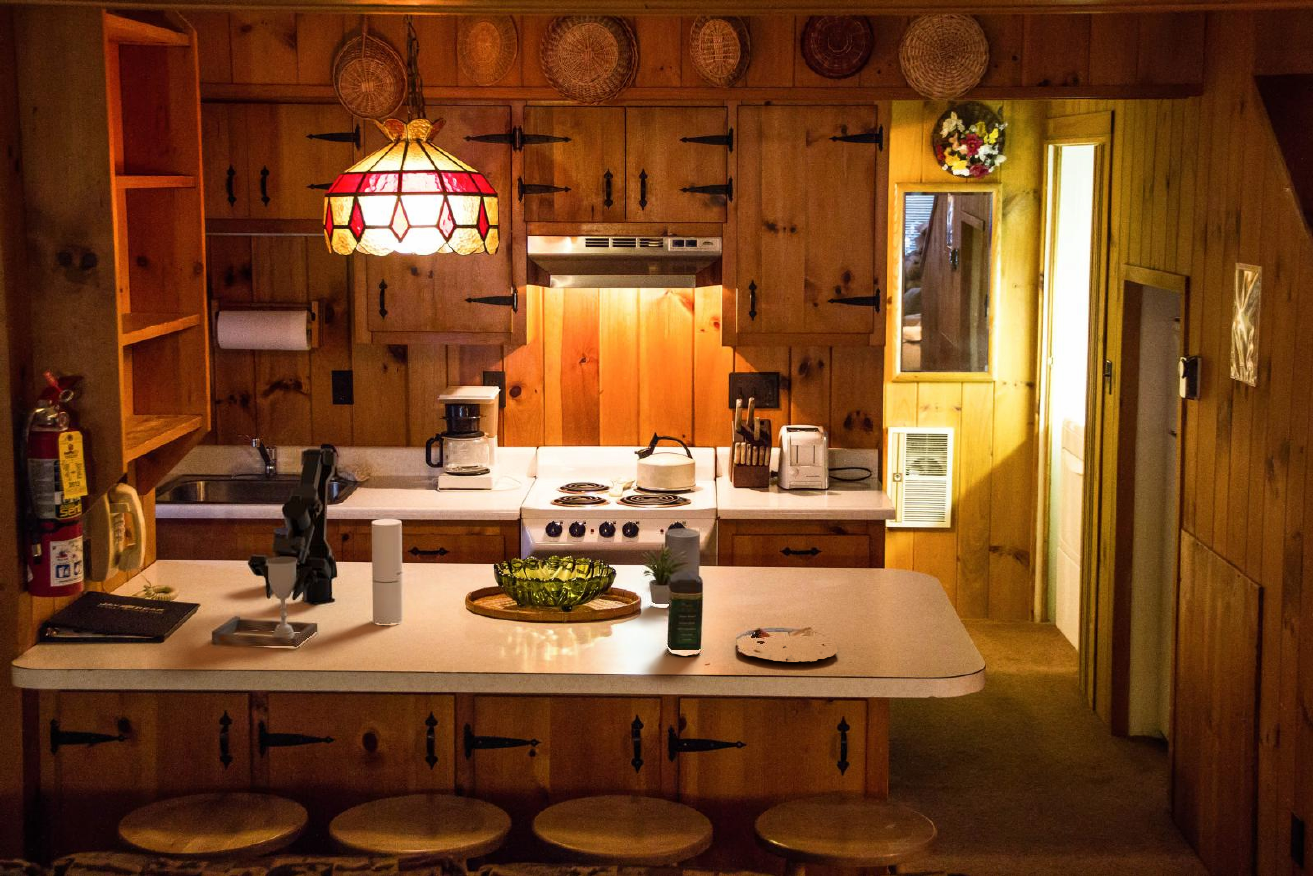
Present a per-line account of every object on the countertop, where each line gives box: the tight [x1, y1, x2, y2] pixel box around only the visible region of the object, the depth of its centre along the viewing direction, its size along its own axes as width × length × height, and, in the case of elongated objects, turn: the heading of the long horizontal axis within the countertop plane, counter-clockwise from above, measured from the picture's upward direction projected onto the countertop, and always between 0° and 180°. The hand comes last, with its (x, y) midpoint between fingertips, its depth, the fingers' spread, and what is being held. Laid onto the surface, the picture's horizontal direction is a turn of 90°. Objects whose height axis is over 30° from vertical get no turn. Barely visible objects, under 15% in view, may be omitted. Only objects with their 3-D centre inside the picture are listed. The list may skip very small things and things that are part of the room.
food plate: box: [735, 626, 826, 653], centre depth 340 cm, size 25×23×4 cm
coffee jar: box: [666, 571, 704, 650], centre depth 337 cm, size 10×8×19 cm
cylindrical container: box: [371, 518, 404, 624], centre depth 355 cm, size 7×7×25 cm
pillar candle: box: [664, 527, 701, 577], centre depth 400 cm, size 10×10×15 cm
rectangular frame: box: [211, 615, 318, 647], centre depth 341 cm, size 20×13×3 cm, turn 82°
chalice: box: [266, 556, 298, 637], centre depth 339 cm, size 7×7×18 cm
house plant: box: [640, 543, 691, 604], centre depth 374 cm, size 14×14×16 cm
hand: (280, 598), depth 338 cm, fingers closed on chalice, 6 cm apart
